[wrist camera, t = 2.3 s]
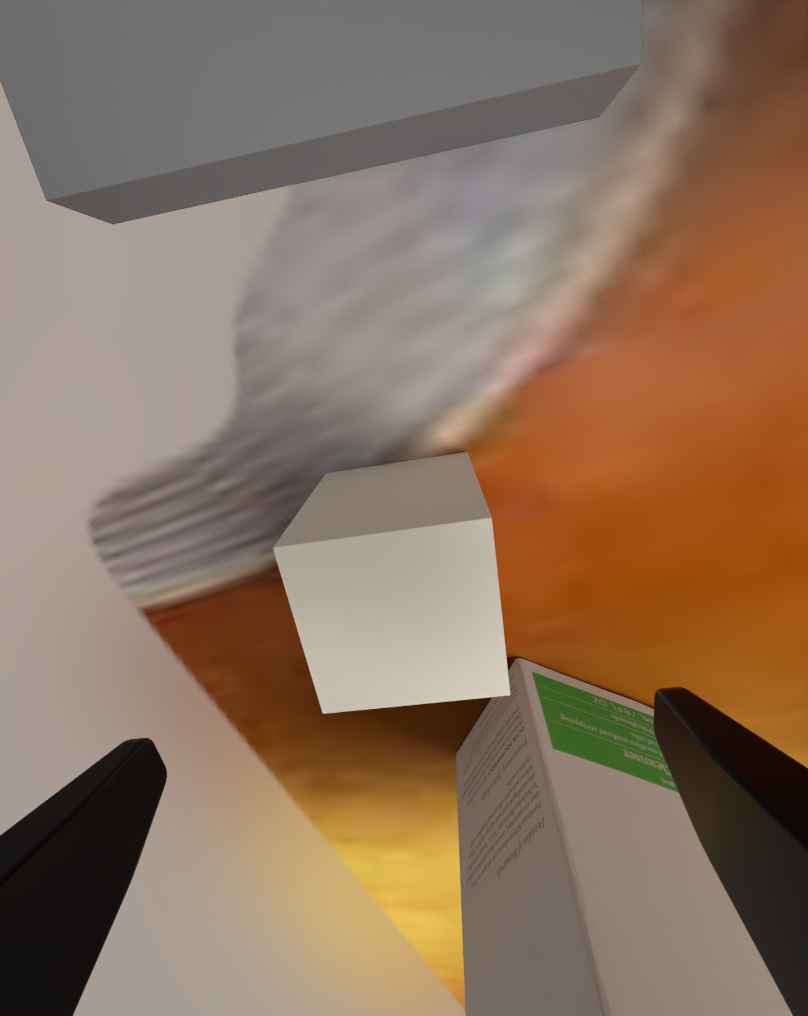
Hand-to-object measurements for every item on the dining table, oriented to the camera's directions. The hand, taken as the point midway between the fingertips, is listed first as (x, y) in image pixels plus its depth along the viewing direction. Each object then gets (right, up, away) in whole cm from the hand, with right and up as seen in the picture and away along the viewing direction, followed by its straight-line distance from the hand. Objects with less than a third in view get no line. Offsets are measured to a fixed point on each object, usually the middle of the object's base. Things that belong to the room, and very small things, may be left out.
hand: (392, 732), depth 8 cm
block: (0, +3, +9) cm, 9 cm away
